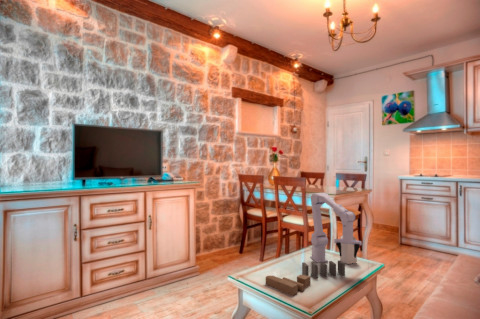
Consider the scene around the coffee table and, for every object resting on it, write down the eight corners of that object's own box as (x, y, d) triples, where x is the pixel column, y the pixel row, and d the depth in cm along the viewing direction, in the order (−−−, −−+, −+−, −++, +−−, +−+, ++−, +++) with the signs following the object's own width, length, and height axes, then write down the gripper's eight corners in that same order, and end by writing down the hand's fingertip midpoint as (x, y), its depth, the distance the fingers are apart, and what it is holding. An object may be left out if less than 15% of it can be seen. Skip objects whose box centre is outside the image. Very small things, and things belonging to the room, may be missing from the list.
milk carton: (349, 259, 176) (349, 230, 176) (356, 263, 169) (356, 233, 170) (340, 260, 174) (340, 231, 174) (347, 264, 167) (347, 234, 167)
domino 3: (324, 277, 148) (324, 264, 148) (320, 273, 153) (320, 261, 153) (327, 277, 148) (327, 264, 148) (322, 273, 153) (322, 261, 153)
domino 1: (305, 278, 146) (305, 266, 146) (302, 275, 151) (302, 262, 151) (308, 278, 146) (308, 265, 146) (304, 274, 151) (304, 262, 151)
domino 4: (333, 276, 149) (333, 264, 149) (329, 273, 154) (329, 261, 154) (336, 276, 149) (336, 264, 149) (331, 273, 154) (331, 260, 154)
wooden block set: (294, 285, 126) (264, 274, 139) (294, 297, 126) (264, 285, 139) (312, 275, 138) (283, 265, 151) (312, 286, 138) (283, 275, 151)
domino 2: (315, 278, 147) (315, 265, 147) (311, 274, 152) (311, 262, 152) (317, 277, 147) (317, 265, 147) (313, 274, 152) (313, 261, 152)
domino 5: (340, 272, 155) (340, 260, 155) (344, 276, 150) (344, 263, 150) (337, 272, 155) (337, 260, 155) (342, 276, 150) (342, 263, 150)
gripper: (335, 233, 151) (334, 257, 151) (362, 235, 147) (362, 260, 147) (334, 230, 158) (333, 253, 158) (360, 232, 154) (360, 255, 154)
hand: (347, 256), depth 153 cm, fingers open, 7 cm apart
